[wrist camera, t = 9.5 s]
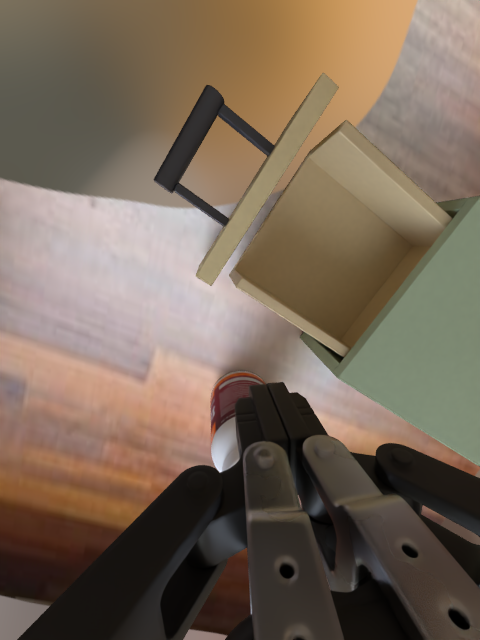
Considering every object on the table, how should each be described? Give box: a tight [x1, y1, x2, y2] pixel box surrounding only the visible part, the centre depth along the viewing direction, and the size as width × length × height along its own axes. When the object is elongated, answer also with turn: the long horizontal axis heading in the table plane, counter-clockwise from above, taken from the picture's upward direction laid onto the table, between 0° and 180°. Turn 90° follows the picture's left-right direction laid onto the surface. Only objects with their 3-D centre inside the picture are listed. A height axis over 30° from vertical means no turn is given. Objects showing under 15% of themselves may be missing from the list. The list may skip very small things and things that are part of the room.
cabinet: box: [300, 196, 480, 467], centre depth 25 cm, size 17×15×9 cm
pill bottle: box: [210, 371, 266, 472], centre depth 24 cm, size 6×6×11 cm
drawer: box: [154, 73, 453, 357], centre depth 21 cm, size 21×14×7 cm, turn 56°
